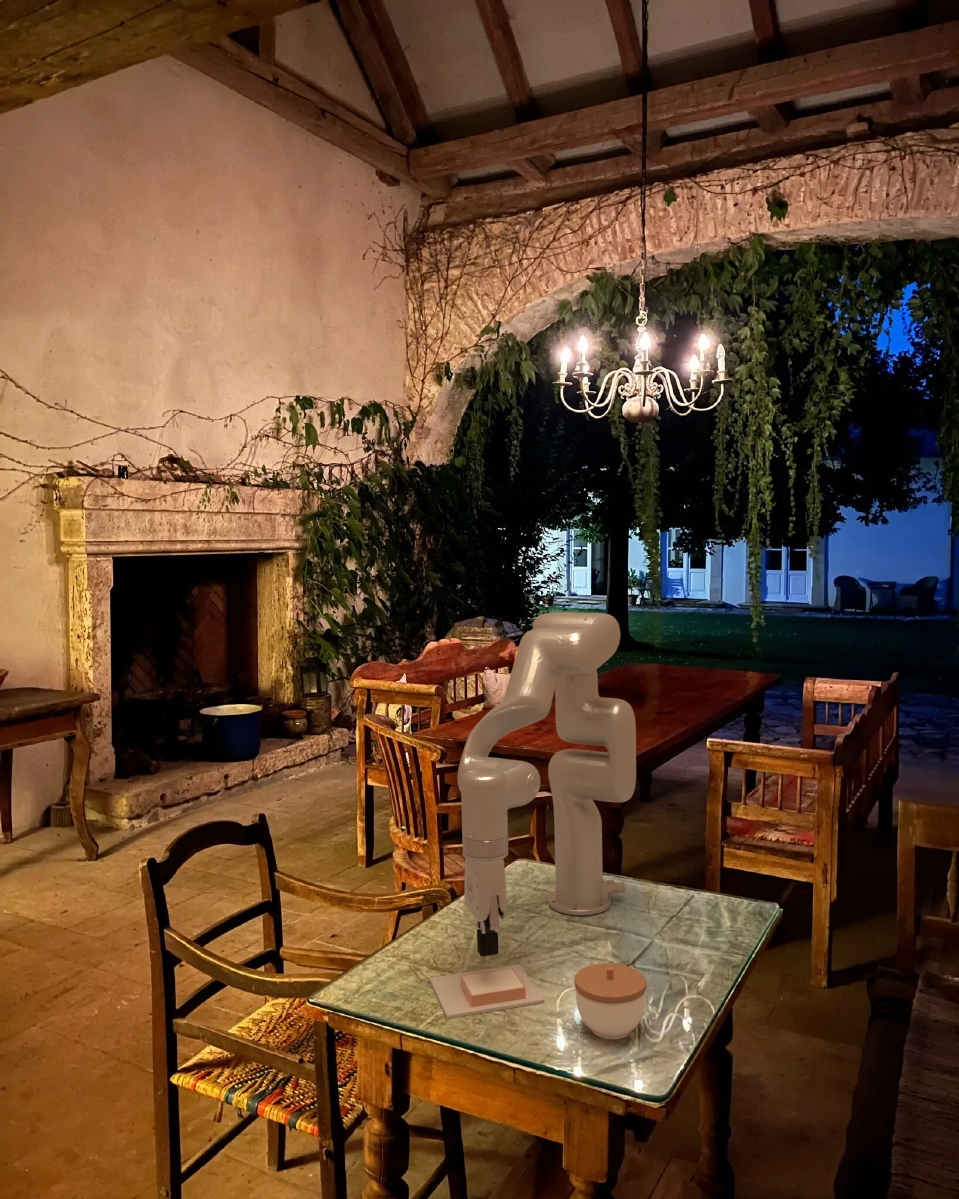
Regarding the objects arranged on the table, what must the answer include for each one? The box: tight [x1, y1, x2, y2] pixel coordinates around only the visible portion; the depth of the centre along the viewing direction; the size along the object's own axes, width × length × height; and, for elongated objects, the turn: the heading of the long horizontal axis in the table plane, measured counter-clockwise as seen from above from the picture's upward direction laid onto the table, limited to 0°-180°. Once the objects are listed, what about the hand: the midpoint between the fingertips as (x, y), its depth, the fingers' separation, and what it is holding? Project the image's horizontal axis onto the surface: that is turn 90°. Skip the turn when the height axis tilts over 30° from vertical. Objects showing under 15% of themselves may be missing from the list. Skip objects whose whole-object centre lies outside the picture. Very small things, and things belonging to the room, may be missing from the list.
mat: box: [429, 964, 545, 1019], centre depth 151 cm, size 16×13×1 cm
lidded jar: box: [574, 962, 647, 1040], centre depth 139 cm, size 11×11×9 cm
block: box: [461, 968, 526, 1007], centre depth 150 cm, size 9×2×7 cm
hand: (488, 953), depth 152 cm, fingers closed
